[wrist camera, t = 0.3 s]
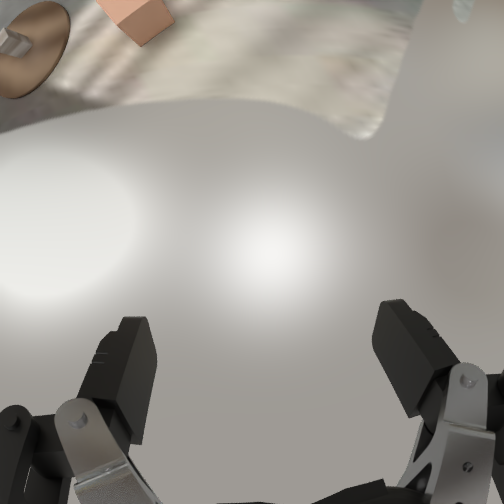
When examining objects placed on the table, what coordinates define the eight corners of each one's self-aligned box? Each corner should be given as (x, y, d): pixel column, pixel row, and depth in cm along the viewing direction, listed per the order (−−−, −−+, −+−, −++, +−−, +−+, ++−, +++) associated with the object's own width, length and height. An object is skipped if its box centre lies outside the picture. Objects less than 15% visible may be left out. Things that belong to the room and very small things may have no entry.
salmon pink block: (121, 23, 28) (95, 0, 20) (154, -1, 27) (135, -29, 19) (140, 46, 29) (116, 25, 22) (174, 22, 28) (158, -6, 21)
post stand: (6, 19, 24) (-19, 10, 18) (80, -9, 25) (58, -27, 18) (-12, 106, 29) (-41, 105, 23) (59, 88, 30) (29, 81, 23)
